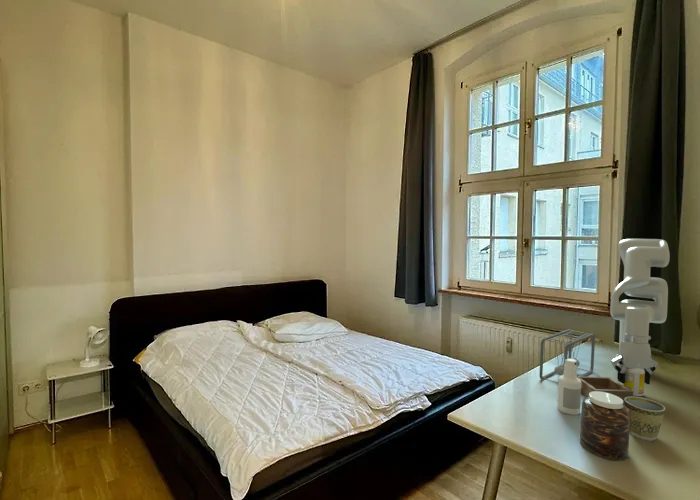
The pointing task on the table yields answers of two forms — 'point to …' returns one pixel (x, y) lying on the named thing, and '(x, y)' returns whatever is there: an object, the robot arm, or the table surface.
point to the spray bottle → (569, 389)
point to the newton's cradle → (566, 352)
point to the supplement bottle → (635, 380)
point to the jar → (605, 426)
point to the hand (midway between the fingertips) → (633, 382)
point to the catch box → (603, 386)
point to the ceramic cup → (644, 417)
